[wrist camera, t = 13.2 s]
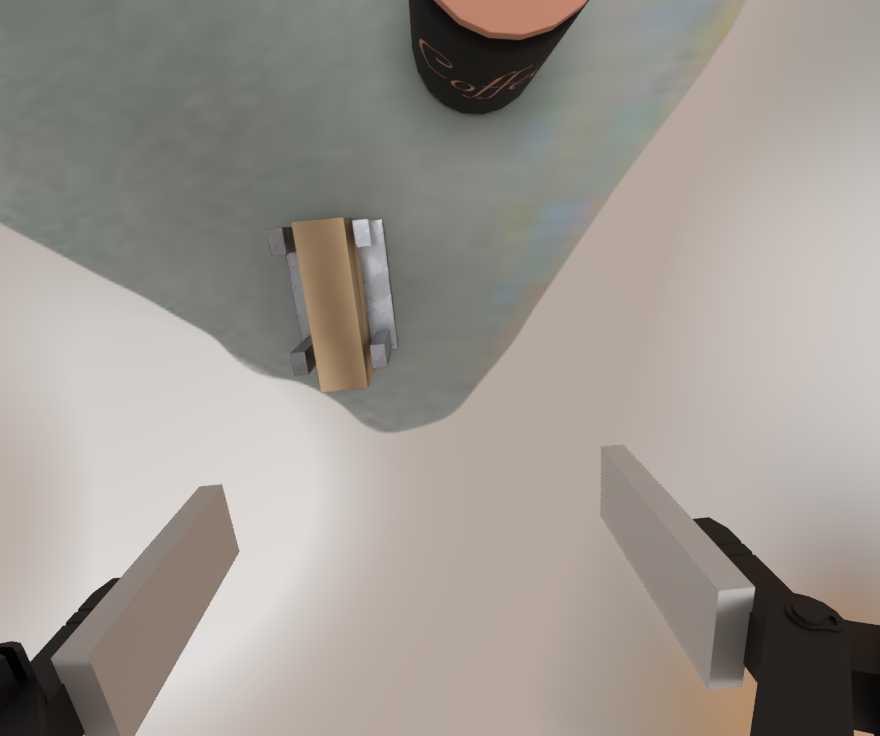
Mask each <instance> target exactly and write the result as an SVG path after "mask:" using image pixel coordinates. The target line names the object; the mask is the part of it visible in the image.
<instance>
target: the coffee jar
mask: <svg viewBox="0 0 880 736" xmlns="http://www.w3.org/2000/svg"><path fill="white" fill-rule="evenodd" d="M588 1H589V0H409V8H410V23H411V37H412V49H413V53H414V57H415V61H416V65H417V69H418V72H419V74H420V75H421V77H422V79H423V80H424V82H425V84H426V86H427V87H428V89H429V91H431V92H432V93H433V94H434V95H435V96H436V97H437V98H438V99H439V100H440V101H441V102H443V103H444V104H445V105H447V106H449V107H452V108H454V109H456V110H459V111H461V112H463V113H479V114H484V113H487V112H491V111H494V110H497V109H501V108H503V107H504V106H506V105H507V104H509V103H510V102H511V101H513V100H514V99H516V98H517V97H518V96H520V94H521V93H522V92H523V90H524V89H525V88H526V86H527V85H528V84H529V82H530V81H531V80H532V78H533V77H534V76H535V74H536V73H537V71H538V70H539V69H540V67H541V66H542V65H543V63H544V62H545V60H546V59H547V58H548V56H549V55H550V53H551V52H552V51H553V49H554V48H555V47H556V45H557V44H558V42H559V41H560V40H561V38H562V37H563V36H564V34H565V33H566V31H567V30H568V29H569V27H570V26H571V24H572V23H573V22H574V20H575V19H576V18H577V16H578V15H579V13H580V12H581V11H582V9H583V8H584V7H585V5H586V4H587V2H588Z"/></svg>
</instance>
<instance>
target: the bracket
mask: <svg viewBox="0 0 880 736" xmlns="http://www.w3.org/2000/svg"><path fill="white" fill-rule="evenodd" d="M352 221H353V228H354V236H355V243H356V247H358V250H359V257H360V264H361V271H362V279H363V286H364V293H365V300H366V308H367V315H368V322H369V329H370V336H371V344H370V350H371V357H372V364H373V368H381V367H387V366H388V362H389V358H390V354H391V350H392V349H397V348H398V342H397V334H396V326H395V318H394V309H393V301H392V293H391V285H390V277H389V268H388V260H387V252H386V244H385V236H384V228H383V220H371V219H363V220H352ZM266 232H267V237H268V242H269V247H270V252H271V255H279V254H286V256H287V261H288V267H289V272H290V278H291V283H292V289H293V294H294V299H295V305H296V310H297V316H298V321H299V327H300V332H301V337H302V343H300V344H299V345H298V346H297V347H296V348H295V349H294V350H293V351H292V352H291V353H290V356H291V361H292V366H293V371H294V376H299V375H309V373H310V372H311V371H312V370H313V368H314V367H315V366H316V359H315V353H314V348H313V342H312V336H311V331H310V325H309V319H308V314H307V308H306V302H305V297H304V291H303V285H302V280H301V274H300V268H299V263H298V257H297V251H296V246H295V240H294V234H293V229H292V227H279V228H269V229H266Z"/></svg>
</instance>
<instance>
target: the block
mask: <svg viewBox="0 0 880 736" xmlns="http://www.w3.org/2000/svg"><path fill="white" fill-rule="evenodd" d="M352 220H354V219H352V218H345V217H341V218H330V219H320V220H309V221H299V222H291V223H292V229H293V234H294V240H295V246H296V251H297V257H298V263H299V268H300V274H301V280H302V285H303V291H304V297H305V302H306V308H307V314H308V319H309V325H310V331H311V336H312V342H313V348H314V353H315V359H316V365H317V370H318V376H319V382H320V387H321V392H331V391H341V390H351V389H362V388H368V386H369V383H370V380H371V377H372V374H373V372H374V369H375V368H373V364H372V357H371V350H370V344H371V336H370V329H369V322H368V315H367V308H366V300H365V293H364V286H363V279H362V271H361V264H360V257H359V250H358V247H356V243H355V236H354V228H353V221H352Z"/></svg>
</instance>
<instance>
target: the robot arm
mask: <svg viewBox="0 0 880 736" xmlns="http://www.w3.org/2000/svg"><path fill="white" fill-rule="evenodd" d="M601 517H602V518H603V520H604V522H605V523H606V525H607V527H608V528H609V530H610V531H611V533H612V534H613V536H614V538H615V540H616V541H617V543H618V544H619V546H620V548H621V549H622V551H623V552H624V554H625V556H626V557H627V559H628V561H629V562H630V564H631V565H632V567H633V569H634V570H635V572H636V573H637V575H638V577H639V578H640V580H641V582H642V583H643V585H644V587H645V588H646V590H647V591H648V593H649V595H650V596H651V598H652V599H653V601H654V603H655V604H656V606H657V608H658V609H659V611H660V612H661V614H662V616H663V617H664V619H665V621H666V622H667V624H668V625H669V627H670V628H671V630H672V632H673V634H674V635H675V637H676V638H677V640H678V641H679V643H680V645H681V646H682V648H683V649H684V651H685V653H686V655H687V656H688V658H689V659H690V661H691V663H692V664H693V666H694V668H695V669H696V671H697V672H698V674H699V676H700V677H701V679H702V681H703V682H704V684H705V685H706V687H707V689H708V690H715V689H725V688H735V687H742V684H743V676H744V668H745V667H746V668H747V669H748V671H749V672H750V674H751V675H752V676H753V678H754V679H755V680H756V682H757V683H758V684H757V691H756V698H755V705H754V712H753V718H752V725H751V732H750V736H854V730H858V731H862V732H867V733H871V734H874V736H880V625H874V624H867V623H860V622H854V621H848V620H844V619H843V618H842V617H841V616H840V615H839V614H838V613H837V612H836V611H835V610H833V609H832V608H830V607H829V606H827V605H826V604H824V603H823V602H820V601H818V600H816V599H814V598H811V597H809V596H805V595H800V594H796V593H793V592H792V591H791V590H790V589H789V588H788V587H787V586H786V585H785V584H784V583H783V582H782V581H781V580H780V579H779V578H778V577H777V576H776V575H775V574H774V573H773V572H772V571H771V570H770V569H769V568H768V567H767V566H766V565H765V564H764V563H763V562H762V561H761V560H760V559H759V558H757V556H755V555H753V554H752V552H751V550H749V549H748V548H747V547H746V546H745V545H744V544H742V543H741V541H740V540H739V539H738V538H737V537H736V536H735V535H734V534H733V533H732V532H731V531H730V530H729V529H728V528H727V527H725V526H723V525H721V524H720V523H718V522H716V521H714V520H713V519H711V518H709V517H707V518H698V519H692V518H691V517H690V516H689V515H688V514H687V513H686V512H685V511H684V510H683V509H682V507H681V506H679V504H678V503H677V502H676V501H675V500H674V499H673V498H672V497H671V496H670V494H669V493H668V492H667V491H666V490H665V489H664V488H663V487H662V486H661V485H660V484H659V483H658V481H657V480H656V479H655V478H654V477H653V476H652V475H651V474H650V473H649V472H648V471H647V470H646V469H645V467H644V466H643V465H642V464H641V463H640V462H639V461H638V460H637V459H636V458H635V457H634V456H633V454H632V453H631V452H630V451H629V450H628V449H627V448H626V447H625V446H624V445H614V446H604V447H601ZM238 553H239V548H238V544H237V541H236V537H235V533H234V530H233V525H232V522H231V518H230V514H229V510H228V506H227V502H226V498H225V494H224V491H223V487H222V485H212V486H201V487H199V488H198V489H197V490H196V491H195V493H194V494H193V495H192V496H191V497H190V498H189V500H188V501H187V502H186V503H185V504H184V505H183V507H182V508H181V509H180V510H179V511H178V512H177V513H176V514H175V516H174V517H173V518H172V519H171V520H170V522H169V523H168V524H167V525H166V526H165V527H164V528H163V530H162V531H161V532H160V533H159V534H158V535H157V536H156V538H155V539H154V540H153V541H152V542H151V543H150V545H149V546H148V547H147V548H146V549H145V550H144V551H143V553H142V554H141V555H140V556H139V557H138V559H137V560H136V561H135V562H134V563H133V564H132V565H131V567H130V568H129V569H128V570H127V571H126V572H125V573H124V575H123V576H122V577H121V578H113V579H111V580H110V581H109V582H107V583H106V584H105V585H104V586H102V587H101V588H99V589H98V590H96V591H95V592H94V593H92V594H91V596H90V597H89V598H88V599H87V600H86V601H85V602H84V603H83V604H82V605H81V607H80V608H79V609H78V612H76V613H74V614H73V615H72V617H71V618H70V619H69V620H68V621H67V622H66V625H65V626H62V628H61V629H60V630H59V631H58V632H57V633H56V634H55V635H54V637H53V638H52V639H51V640H50V641H49V642H48V643H47V644H46V645H45V646H44V647H43V649H42V650H41V651H40V652H39V653H38V654H37V655H36V656H35V657H34V658H33V660H32V661H31V662H30V661H29V660H28V657H27V655H26V652H25V650H24V648H23V646H22V645H21V643H18V642H12V641H11V642H6V643H0V736H83V735H84V736H135V734H136V732H137V730H138V729H139V727H140V725H141V724H142V722H143V720H144V718H145V717H146V715H147V713H148V711H149V710H150V708H151V706H152V704H153V703H154V701H155V699H156V697H157V695H158V694H159V692H160V690H161V688H162V687H163V685H164V683H165V681H166V680H167V678H168V676H169V674H170V673H171V671H172V669H173V667H174V666H175V664H176V662H177V660H178V658H179V656H180V655H181V653H182V651H183V649H184V648H185V646H186V645H187V643H188V641H189V639H190V637H191V636H192V634H193V632H194V630H195V629H196V627H197V625H198V623H199V622H200V620H201V618H202V616H203V614H204V613H205V611H206V609H207V608H208V606H209V604H210V602H211V600H212V598H213V597H214V595H215V593H216V592H217V590H218V588H219V587H220V585H221V583H222V581H223V579H224V578H225V576H226V574H227V572H228V571H229V569H230V567H231V565H232V564H233V562H234V560H235V558H236V557H237V555H238Z"/></svg>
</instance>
